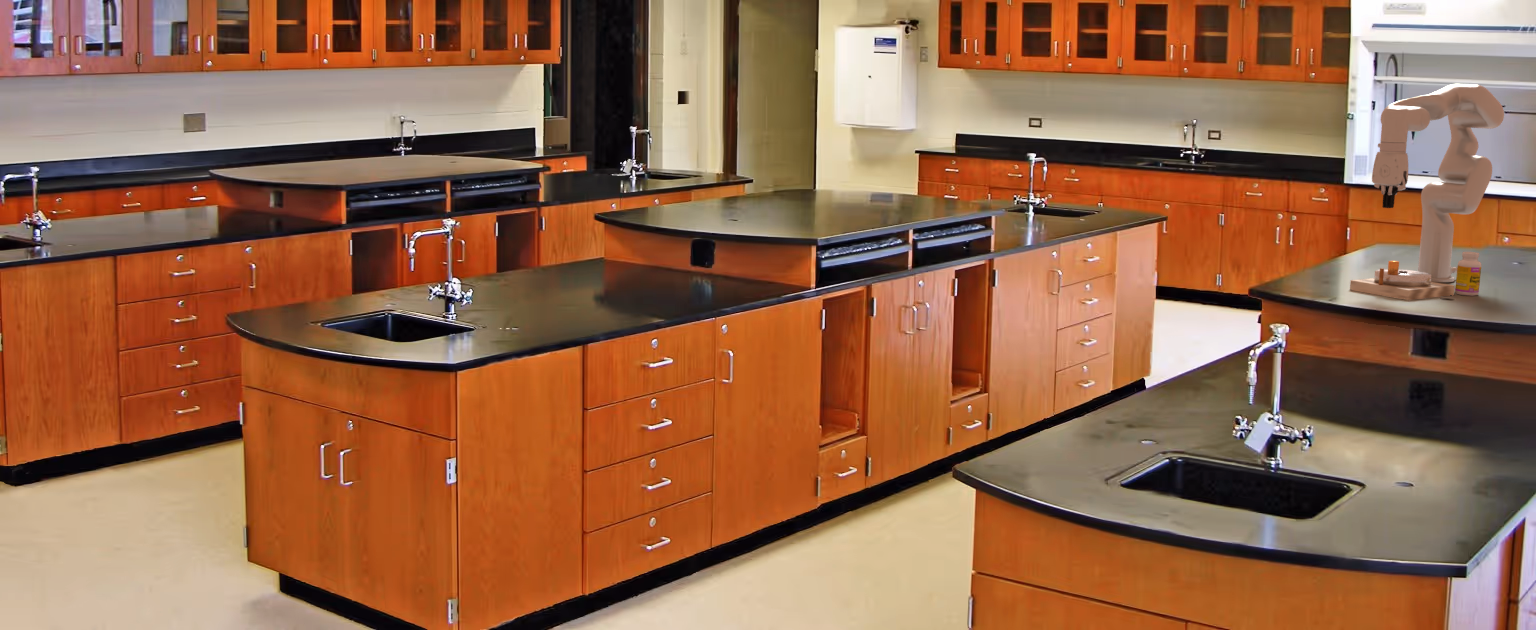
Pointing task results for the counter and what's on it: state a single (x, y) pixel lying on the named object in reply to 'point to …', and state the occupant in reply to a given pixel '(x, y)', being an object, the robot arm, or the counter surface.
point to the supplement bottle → (1468, 274)
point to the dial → (1403, 276)
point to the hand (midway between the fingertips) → (1387, 207)
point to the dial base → (1401, 289)
